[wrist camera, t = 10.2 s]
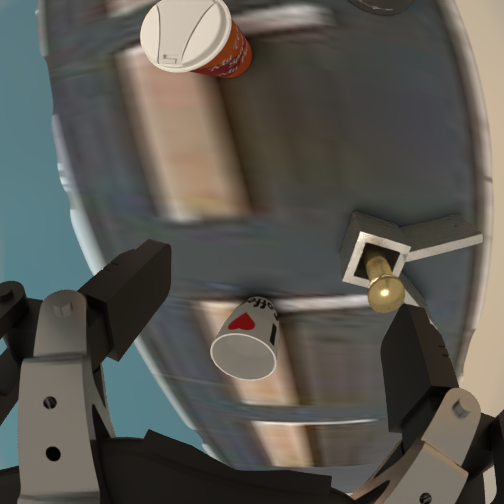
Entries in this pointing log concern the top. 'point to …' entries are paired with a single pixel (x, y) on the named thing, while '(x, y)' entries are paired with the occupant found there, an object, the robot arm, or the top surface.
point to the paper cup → (195, 38)
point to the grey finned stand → (402, 247)
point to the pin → (381, 281)
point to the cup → (248, 341)
